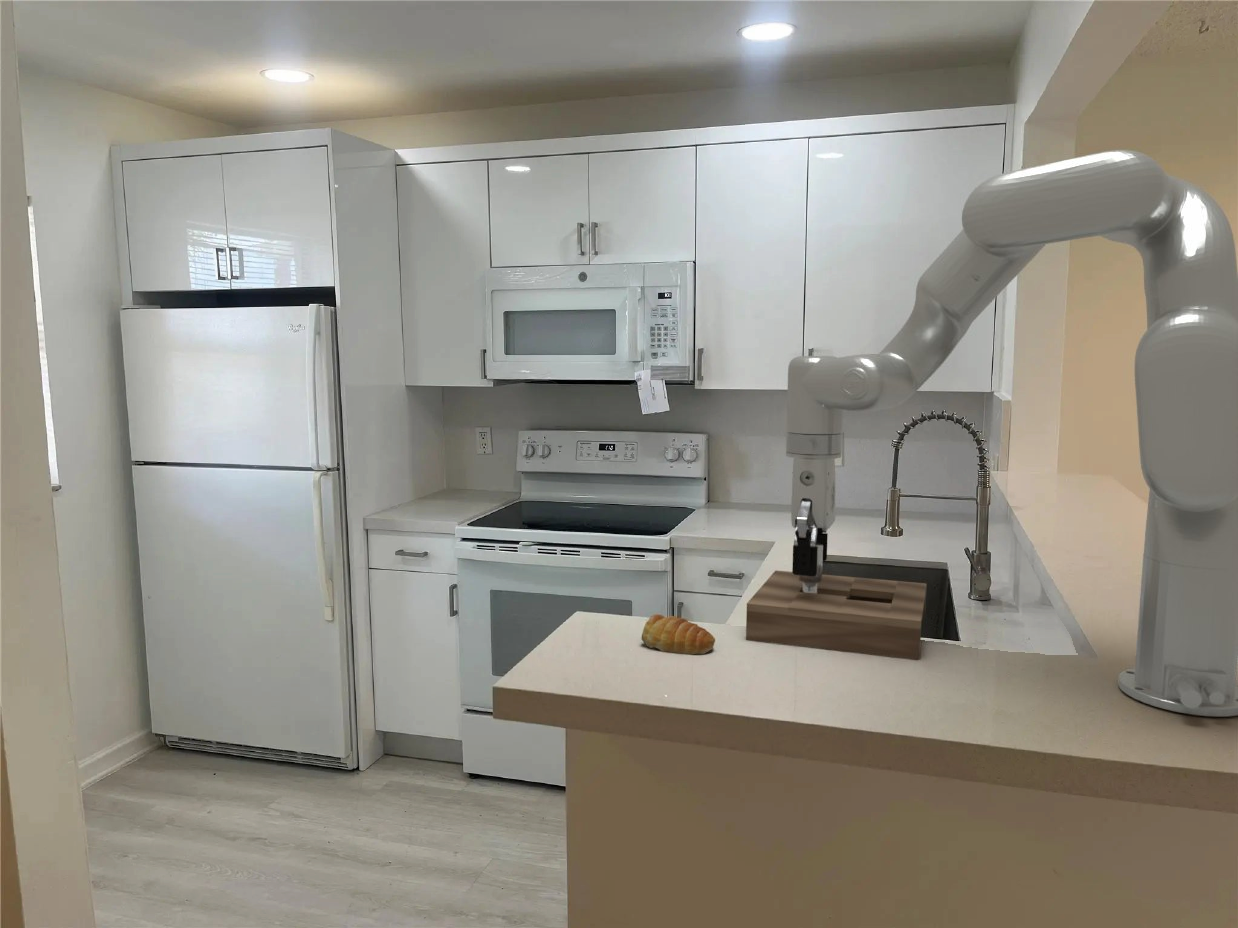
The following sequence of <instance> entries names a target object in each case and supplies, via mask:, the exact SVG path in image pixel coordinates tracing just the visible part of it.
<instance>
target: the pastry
mask: <svg viewBox="0 0 1238 928" xmlns="http://www.w3.org/2000/svg"><path fill="white" fill-rule="evenodd" d="M641 633H642V634H641V636H640V637H641V638H640V639H641V641H642V642H643V644H645V645H646V647H648V648H650V649H653V648H656V649H658V650H659V651H661V652H665V653H669V652H671V653H673V654H681V655H683V654H684V655H695V654H700V655H701V654H702V655H703V654H705V653H708V652H709V651H711V650H712V649H714V645H715V642H716V638H715V637H714V636H713V635H712V634H711V632H709V631H708V630H707V629H706V628H703V627H701V626H699V625H698V624H697V623H693V622H690V621H688V619H687V618H683V617H679V618H678V617H677V616H674V615H670V616H664V615H663V614H658V613H656V614H652V615H651V616H650V617H649V619H648V620H647V621H646V622H645V625H644V626H643V630H642V632H641Z"/></svg>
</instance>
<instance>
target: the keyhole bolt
mask: <svg viewBox="0 0 1238 928" xmlns="http://www.w3.org/2000/svg"><path fill="white" fill-rule="evenodd" d="M815 547H818V551H817V574H816V576H803V575H799V580H800V581H802V582H803V592H805V593H816V594H817V583H818V582H821V581H822V575H823V562H824V561H823V545H822V544H818V543H816V544H815Z"/></svg>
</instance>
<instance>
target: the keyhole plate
mask: <svg viewBox="0 0 1238 928" xmlns="http://www.w3.org/2000/svg"><path fill="white" fill-rule="evenodd" d="M926 601H927V583H925V582H912V581H903V580H889V579H878V578H866V577H854V576H853V577H852V576H844V575H831V574H822V581H821V582H818V583H817V594H816V593H805V592H803V582H802V581H800V580H799V575H794V574H793V572H792V571H788V570H787V571H786V570H777V569H775V570H774V571H773V572H772V574H771V575H770V576H769V577H768V579H766V581H765V582H764V583H763V584H762V586H761V587H760V588H759V589H758V590H757V591H756V592H755V593H754V595H752V597H751V598H750V599H749V600H748V601H747V603H746V620H745V621H746V624H745V625H746V627H745V631H746V632H745V641H754V642H760V643H761V642H762V643H770V644H777V645H778V644H780V645H788V646H796V647H804V648H812V649H819V650H820V649H821V650H822V649H823V650H831V651H838V652H848V653H855V654H856V653H857V654H862V655H863V654H864V655H873V656H879V657H880V656H881V657H891V658H896V659H897V658H900V659H907V660H917V661H920V657H921V641H922V640H921V638H922V637H921V636H922V634H921V633H922V622H923V620H926V608H927V607H926V604H927V602H926Z"/></svg>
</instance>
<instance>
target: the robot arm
mask: <svg viewBox="0 0 1238 928" xmlns="http://www.w3.org/2000/svg"><path fill="white" fill-rule="evenodd" d="M961 212H962V213H961V225H962V228H963V229H962V230H961V231H960V232H959V233H958V234H957V235H956V237H954V238H953V239H952V241H951V242H950V243H949V244H948V245H947V247H945V249H944V250H943V251H942V252H941V253H940V254H939V256H938V257H936V259H935V260H934V261H933V262H932V263H931V265H930V266H929V267H927V269H926V270H925V271H923V273H922V275H921V276H920V277H919V279H918V281H917V285H916V288H915V289H916V290H915V301H914V305H913V309H912V310H911V313H910V315H909V317H908V318H907V320H906V322H905V323H904V325H902V327H901V328H900V330H898V332H897V333H896V334H895V335H894V337H893V338H892V339H891V340H890V341H889V342H888V343H887V344H886V345H885V346H884V347H883V349H882V350H881V351H880V352H879V353H869V354H868V353H867V354H864V353H863V354H854V355H848V356H847V355H846V356H841V357H839V356H838V357H836V356H832V355H831V356H830V355H805V356H804V355H803V356H802V355H801V356H796V357H793V358H792V359H791V360H790V361H789V364H788V367H787V368H788V369H787V394H786V395H787V396H786V399H787V401H786V436H785V437H786V438H785V456H786V457H788V458H793V459H792V460H793V462H792V463H793V464H792V473H791V474H792V477H791V478H792V479H791V482H792V483H791V502H790V503H791V504H790V505H791V507H790V508H791V510H790V511H791V512H790V514H791V515H790V517H791V526H792V527H793V528H794V529H795V531H794V538H793V545H792V567H791V568H792V571H791V572H793V574H794V575H803V576H816V574H817V551H818V547H815V544H816V543H818V544H822V545H823V562H825V561H827V559H828V535H829V534H828V530H829V529H830V528H831V526H833V524H834V523H835V520H836V462H835V461H836V460H835V459H839V458H840V459H841V458H842V447H843V445H842V444H843V417H844V416H843V415H844V413H843V412H844V411H848V412H849V411H850V412H854V413H869V412H876V411H880V410H881V411H883V410H890V409H894V408H897V407H898V406H901V405H902V404H904V403H905V402H906V401H908V400H909V399H910V398H911V397H912V396H914V395H915V394H916V392H917V391H918V390H919V389H920V388H921V387H922V386H923V385H924V384H925V383H926V382H927V381H928V380H929V379H930V378H931V377H932V376H933V375H934V374H935V373H936V372H937V371H938V370H939V368H940V367H942V365H943V364H944V363H945V361H946V360H947V359H948V358H949V357H950V355H951V354H952V352H953V351H954V350H955V348H956V346H957V345H958V344H959V343H960V341H961V340H962V339H963V338H964V336H965V335H966V333H967V332H968V330H969V329H970V326H972V324H973V322H975V320H976V319H977V318H978V317H979V316H980V315H981V314H982V312H984V311H985V309H987V307H988V306H989V305H991V303H992V302H993V301H994V300H995V299H996V298H997V297H998V295H1000V293H1002V291H1003V290H1004V289H1006V287H1007V286H1008V285H1009V284H1010V283H1011V282H1012V281H1014V279H1015V278H1016V277H1017V276H1018V275H1019V274H1020V272H1022V271H1023V270H1024V269H1025V268H1026V266H1027V265H1028V264H1029V263H1030V262H1031V261H1032V260H1034V258H1035V257H1036V256H1037V255H1038V254H1039V253H1040V251H1042V250H1043V248H1044V247H1045V246H1046V245H1047V244H1054V243H1061V242H1068V241H1073V240H1079V239H1086V238H1092V237H1099V236H1100V237H1102V238H1104V239H1107V240H1109V241H1111V242H1116V243H1122V244H1127V245H1130V246H1132V247H1133V248H1134V249H1136V251H1137V252H1138V254H1139V255H1140V256H1141V258H1142V265H1143V287H1144V294H1145V301H1146V302H1145V304H1146V307H1145V308H1146V324H1147V325H1146V327H1147V330H1145V332H1144V334H1142V336H1141V337H1140V340H1139V342H1138V344H1137V347H1136V351H1135V354H1134V356H1135V357H1134V387H1135V389H1134V390H1135V400H1136V415H1137V416H1136V419H1137V430H1138V431H1137V432H1138V447H1139V458H1140V460H1139V461H1140V468H1141V473H1142V476H1143V479H1144V481H1145V483H1146V485H1147V486H1148V487H1147V488H1148V489H1149V493H1148V503H1147V511H1146V512H1147V513H1146V523H1145V531H1144V545H1143V546H1144V547H1143V554H1142V556H1143V557H1142V567H1141V568H1142V570H1141V580H1140V593H1139V605H1138V606H1139V607H1138V609H1139V610H1138V621H1137V635H1136V648H1135V650H1136V651H1135V662H1134V667H1133V668H1127V669H1125V670H1122V671H1121V672H1120V673H1119V674H1118V679H1117V681H1118V682H1117V685H1118V687H1119V689H1120V690H1121V691H1122V692H1123V693H1124V694H1125V695H1127V696H1128V697H1131V698H1132V699H1134V700H1136V701H1138V702H1140V703H1141V702H1142V703H1144V704H1147V705H1149V706H1152V707H1156V708H1158V709H1162V710H1166V711H1170V712H1175V713H1181V714H1187V715H1191V716H1200V717H1201V716H1202V717H1216V718H1220V717H1223V718H1225V717H1235V716H1238V685H1237V684H1236V683H1237V675H1238V674H1237V672H1238V671H1237V670H1238V262H1237V253H1236V245H1235V239H1234V235H1233V231H1232V227H1231V224H1230V222H1229V219H1228V217H1227V215H1226V213H1225V212H1224V210H1223V209H1222V207H1221V206H1220V205H1219V204H1218V202H1217V201H1216V200H1215V199H1214V198H1213V197H1212V196H1211V195H1210V194H1209V193H1207V192H1206V191H1205V190H1204V189H1202V188H1201V187H1199V186H1197V185H1196V184H1194V183H1191V182H1190V181H1187V180H1185V179H1182V178H1179V177H1176V176H1174V175H1171V174H1168V173H1166V172H1165V170H1163V168H1162V166H1161V165H1160V164H1159V163H1158V162H1157V161H1156V160H1155V159H1153V158H1152V157H1151V156H1150V155H1147V154H1145V153H1143V152H1139V151H1136V150H1133V149H1132V150H1130V149H1114V150H1113V149H1112V150H1108V151H1107V150H1105V151H1100V152H1095V153H1092V154H1087V155H1081V156H1077V157H1072V158H1069V159H1064V160H1059V161H1055V162H1050V163H1045V164H1041V165H1040V164H1039V165H1036V166H1035V165H1034V166H1031V167H1025V168H1021V169H1016V170H1013V171H1008V172H1004V173H1001V174H1000V173H999V174H997V175H994V176H992V177H990V178H988V179H986V180H985V181H983V182H981V183H980V184H978V186H977V187H975V188H974V189H973V190H972V191H971V192H970V194H969V196H968V197H967V199H966V201H965V203H964V205H963V209H962V211H961Z"/></svg>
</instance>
